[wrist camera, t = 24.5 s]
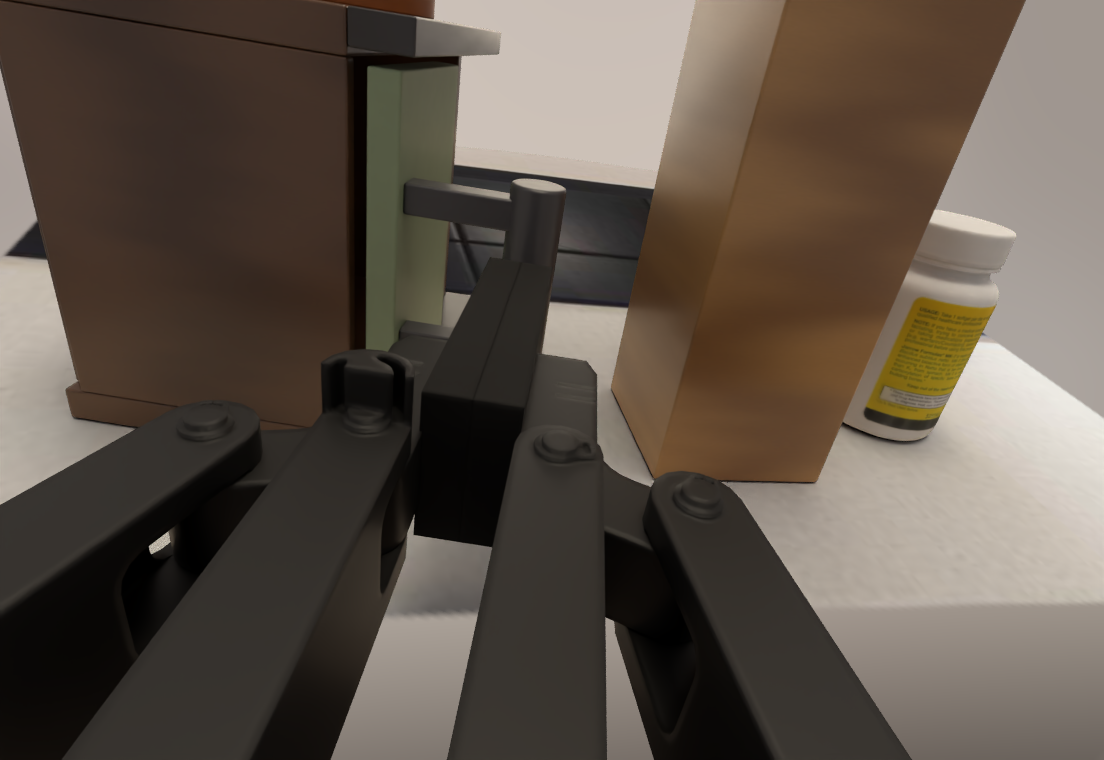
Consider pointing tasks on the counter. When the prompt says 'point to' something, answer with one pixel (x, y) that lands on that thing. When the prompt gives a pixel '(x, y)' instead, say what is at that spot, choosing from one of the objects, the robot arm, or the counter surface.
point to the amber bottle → (396, 6)
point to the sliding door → (432, 203)
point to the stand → (791, 219)
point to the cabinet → (207, 189)
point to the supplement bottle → (931, 327)
